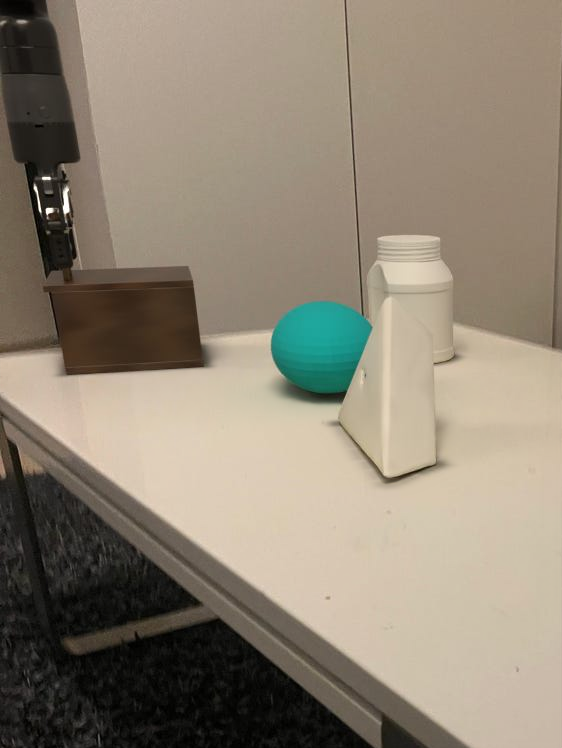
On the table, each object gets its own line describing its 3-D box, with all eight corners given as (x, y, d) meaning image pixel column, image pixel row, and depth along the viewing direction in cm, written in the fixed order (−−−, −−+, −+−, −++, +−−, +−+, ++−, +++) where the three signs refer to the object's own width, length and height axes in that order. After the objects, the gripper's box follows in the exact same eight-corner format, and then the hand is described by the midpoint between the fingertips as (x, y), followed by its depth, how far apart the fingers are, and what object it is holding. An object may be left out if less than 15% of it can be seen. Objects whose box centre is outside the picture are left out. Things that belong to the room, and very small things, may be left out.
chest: (66, 374, 124) (50, 292, 120) (72, 352, 136) (58, 276, 132) (203, 366, 129) (193, 286, 124) (198, 346, 140) (189, 272, 136)
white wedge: (478, 423, 85) (442, 313, 98) (413, 404, 82) (385, 294, 96) (413, 552, 94) (388, 435, 107) (352, 538, 91) (335, 420, 105)
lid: (43, 292, 120) (35, 248, 117) (52, 277, 131) (44, 236, 129) (193, 286, 124) (188, 243, 122) (189, 272, 136) (184, 232, 134)
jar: (362, 352, 137) (356, 236, 130) (423, 345, 142) (420, 232, 135) (399, 368, 129) (395, 244, 122) (463, 360, 133) (462, 240, 126)
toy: (393, 405, 112) (389, 313, 107) (278, 411, 109) (270, 317, 104) (372, 371, 127) (368, 289, 122) (271, 376, 124) (263, 292, 119)
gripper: (13, 118, 123) (39, 258, 130) (-1, 118, 110) (29, 272, 118) (77, 119, 124) (99, 256, 132) (70, 119, 112) (95, 270, 120)
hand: (66, 263), depth 125 cm, fingers open, 8 cm apart
